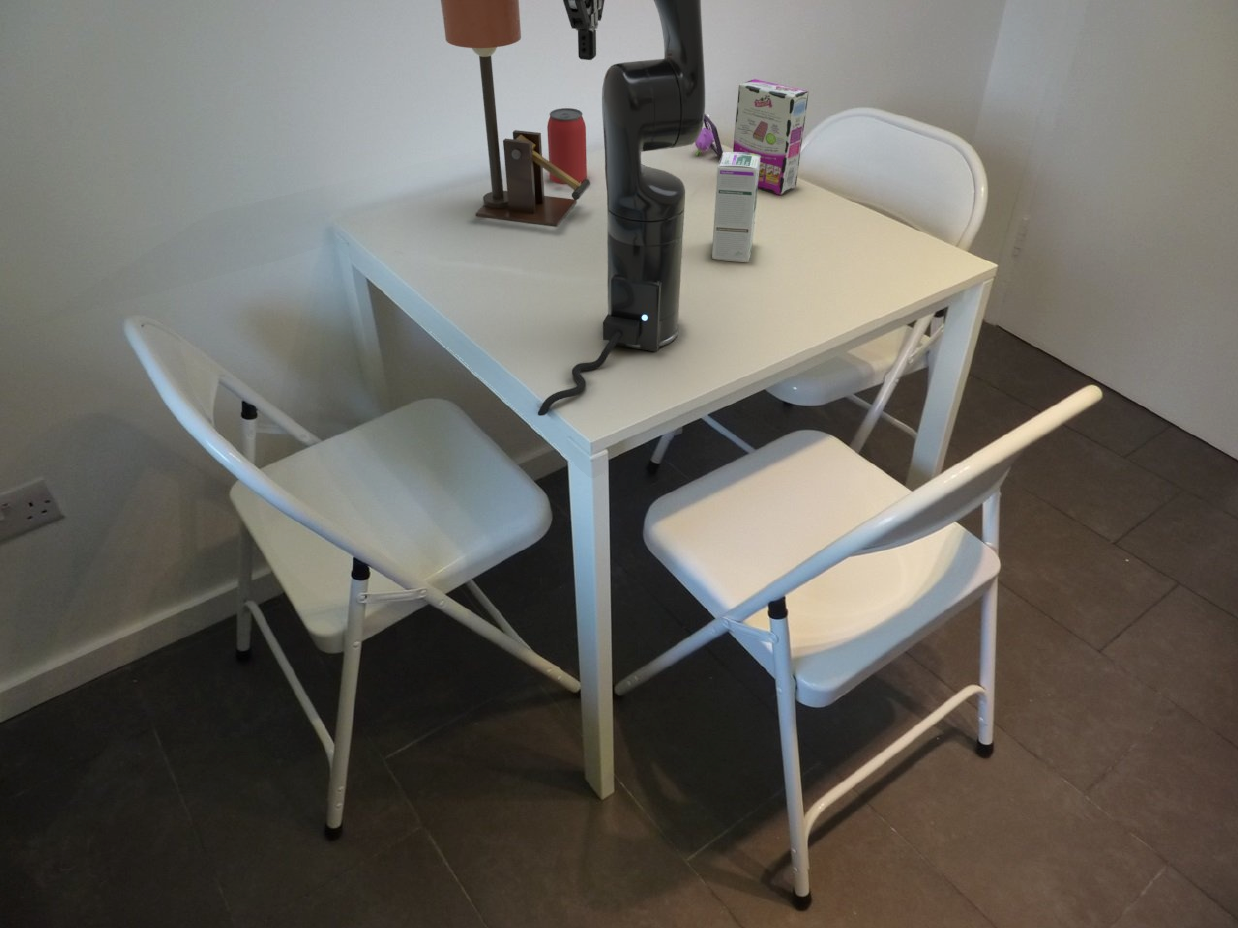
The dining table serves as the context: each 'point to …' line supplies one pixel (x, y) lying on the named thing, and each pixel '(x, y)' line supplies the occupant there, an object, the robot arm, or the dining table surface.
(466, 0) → the lamp
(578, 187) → the switch
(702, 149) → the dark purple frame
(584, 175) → the beer can
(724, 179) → the syrup box
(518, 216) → the lamp base
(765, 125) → the candy bar box
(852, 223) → the dining table surface
